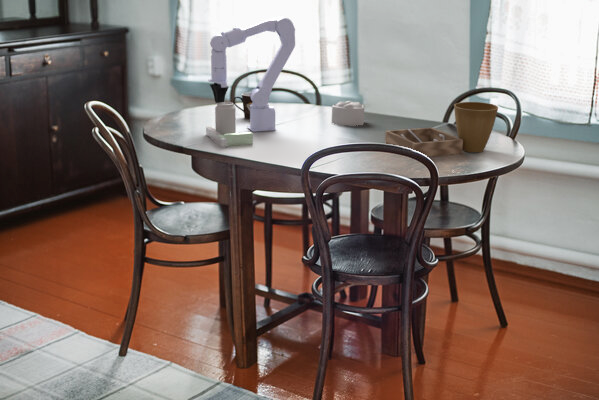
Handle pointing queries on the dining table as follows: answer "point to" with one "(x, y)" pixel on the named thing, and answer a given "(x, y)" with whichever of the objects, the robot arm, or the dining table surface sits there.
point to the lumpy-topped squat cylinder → (348, 113)
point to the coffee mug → (245, 104)
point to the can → (225, 118)
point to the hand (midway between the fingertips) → (219, 103)
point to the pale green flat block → (229, 138)
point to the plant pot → (474, 124)
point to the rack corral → (426, 141)
